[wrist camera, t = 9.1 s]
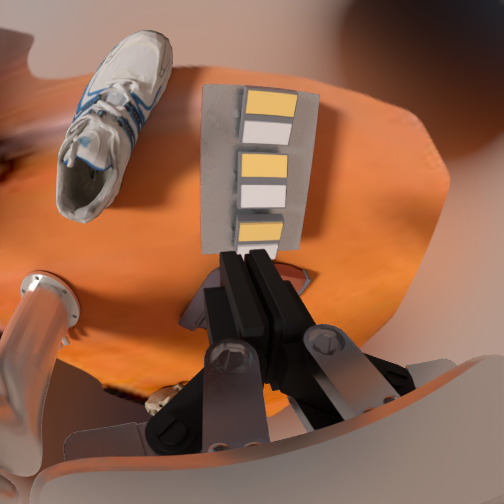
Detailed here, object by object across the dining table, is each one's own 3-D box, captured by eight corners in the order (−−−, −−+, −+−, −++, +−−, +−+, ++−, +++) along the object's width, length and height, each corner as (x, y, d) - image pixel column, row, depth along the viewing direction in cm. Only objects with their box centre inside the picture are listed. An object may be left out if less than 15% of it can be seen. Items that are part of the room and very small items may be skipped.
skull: (151, 393, 46) (154, 432, 45) (228, 383, 56) (227, 420, 55) (140, 377, 53) (142, 414, 52) (209, 372, 64) (209, 405, 63)
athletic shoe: (188, 42, 24) (151, 10, 13) (140, 214, 34) (95, 258, 23) (118, 36, 22) (62, 15, 12) (81, 195, 33) (28, 229, 22)
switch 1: (285, 141, 26) (289, 146, 25) (238, 138, 25) (240, 144, 24) (294, 90, 22) (299, 93, 21) (244, 85, 21) (246, 88, 20)
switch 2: (282, 206, 28) (286, 209, 27) (236, 206, 28) (239, 209, 26) (284, 153, 27) (289, 153, 25) (238, 151, 26) (240, 151, 24)
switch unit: (285, 228, 39) (302, 253, 33) (200, 231, 37) (202, 258, 31) (301, 94, 30) (325, 94, 24) (202, 87, 27) (203, 83, 21)
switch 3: (273, 251, 33) (276, 260, 32) (233, 253, 32) (234, 262, 31) (281, 213, 29) (285, 222, 28) (236, 214, 28) (238, 223, 27)
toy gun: (303, 264, 44) (223, 236, 37) (315, 288, 41) (229, 263, 33) (247, 326, 53) (175, 312, 45) (253, 349, 49) (177, 338, 41)
